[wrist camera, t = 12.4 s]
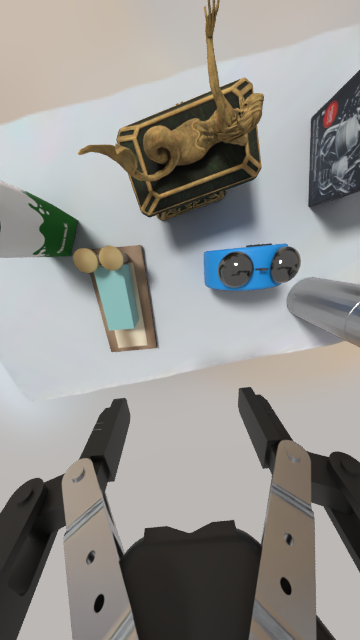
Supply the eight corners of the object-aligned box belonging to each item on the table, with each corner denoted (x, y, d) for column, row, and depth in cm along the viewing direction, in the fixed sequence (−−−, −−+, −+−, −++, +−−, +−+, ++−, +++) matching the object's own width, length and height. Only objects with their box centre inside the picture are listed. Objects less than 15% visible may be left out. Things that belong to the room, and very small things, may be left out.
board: (141, 245, 34) (130, 242, 25) (156, 345, 42) (152, 368, 34) (87, 250, 34) (58, 248, 25) (113, 349, 42) (97, 372, 34)
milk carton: (74, 262, 34) (-43, 271, 16) (27, 242, 33) (-166, 226, 14) (84, 217, 32) (-45, 163, 13) (32, 193, 30) (-198, 92, 11)
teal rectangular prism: (128, 263, 34) (121, 265, 29) (139, 319, 38) (134, 328, 33) (103, 265, 34) (92, 267, 29) (117, 321, 38) (109, 330, 33)
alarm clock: (200, 281, 37) (216, 297, 23) (198, 251, 34) (215, 248, 20) (259, 275, 37) (312, 288, 23) (262, 244, 34) (322, 237, 20)
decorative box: (225, 132, 28) (323, -101, 10) (235, 198, 31) (323, 119, 13) (114, 176, 30) (17, 45, 11) (136, 234, 33) (89, 208, 15)
